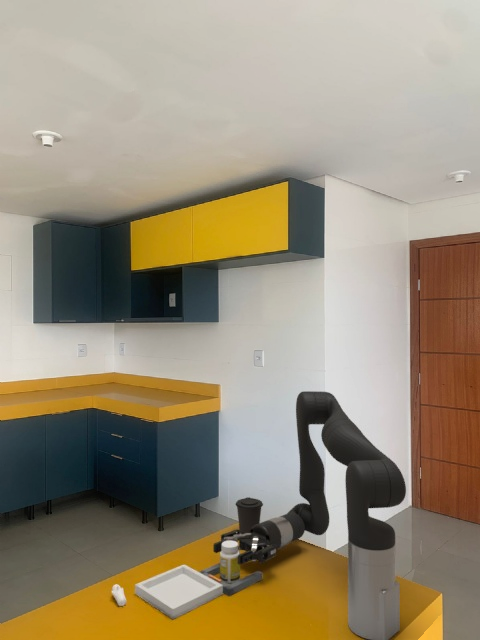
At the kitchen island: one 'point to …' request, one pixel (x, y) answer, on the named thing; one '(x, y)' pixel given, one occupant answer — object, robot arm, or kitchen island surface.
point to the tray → (178, 591)
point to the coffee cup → (248, 513)
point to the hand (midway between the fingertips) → (226, 554)
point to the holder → (236, 585)
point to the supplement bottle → (229, 562)
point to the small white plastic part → (119, 595)
